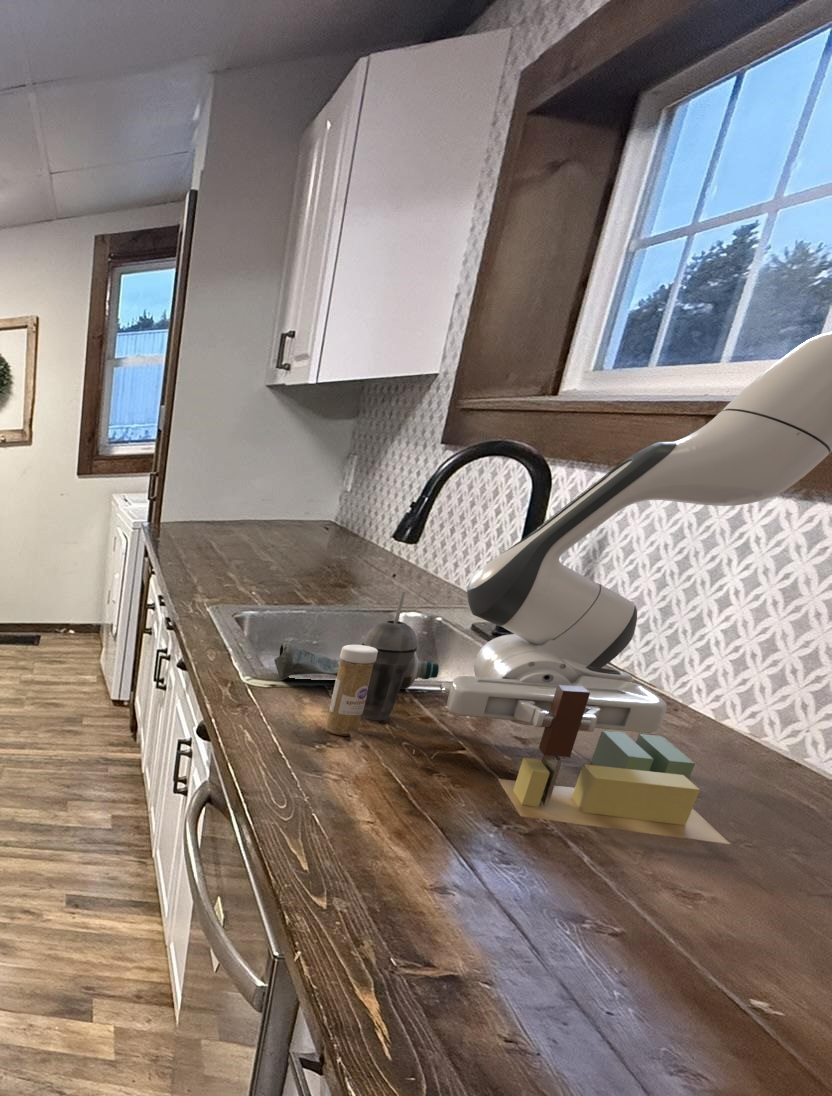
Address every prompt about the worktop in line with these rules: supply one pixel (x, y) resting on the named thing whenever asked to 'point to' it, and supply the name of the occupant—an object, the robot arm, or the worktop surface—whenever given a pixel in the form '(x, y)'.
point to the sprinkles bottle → (350, 688)
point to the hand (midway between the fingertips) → (566, 723)
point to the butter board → (610, 817)
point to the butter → (635, 794)
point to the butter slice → (531, 782)
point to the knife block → (640, 754)
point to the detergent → (311, 663)
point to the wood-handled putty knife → (562, 731)
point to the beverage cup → (388, 664)
